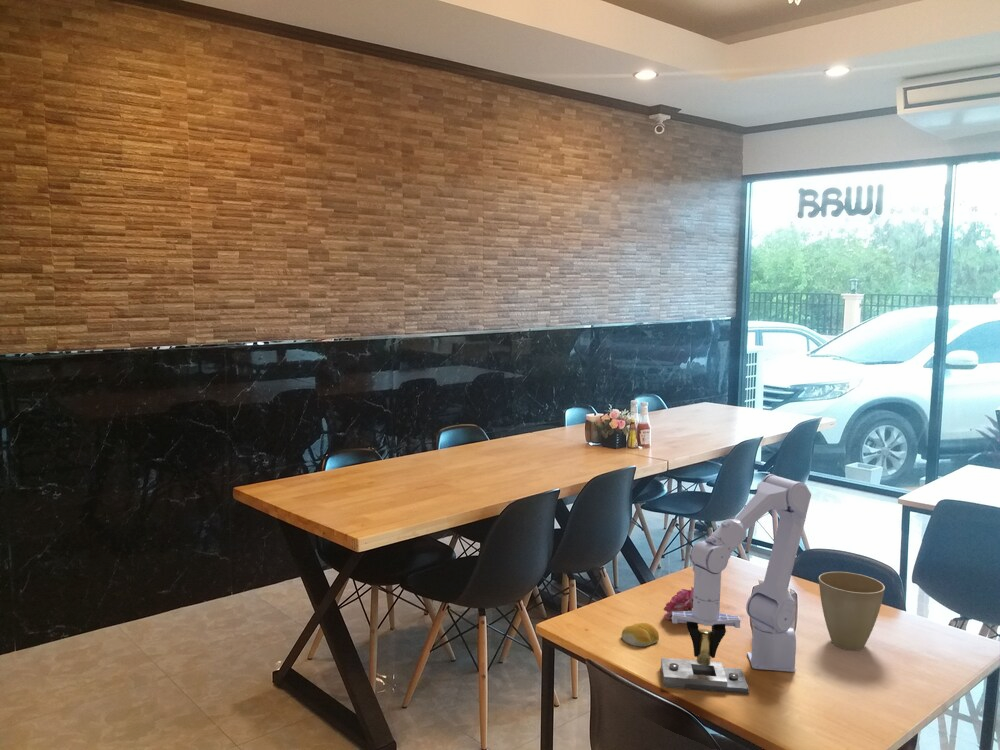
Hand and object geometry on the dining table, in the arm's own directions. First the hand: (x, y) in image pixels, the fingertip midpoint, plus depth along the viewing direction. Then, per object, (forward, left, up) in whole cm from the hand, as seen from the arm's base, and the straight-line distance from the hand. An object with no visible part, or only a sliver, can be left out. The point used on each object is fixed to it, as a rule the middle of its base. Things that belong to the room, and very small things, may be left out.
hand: (704, 655), depth 171 cm
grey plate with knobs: (0, 0, -6) cm, 6 cm away
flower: (+2, -33, -6) cm, 34 cm away
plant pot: (-38, -25, -6) cm, 46 cm away
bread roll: (+13, -19, -6) cm, 24 cm away
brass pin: (0, 0, -2) cm, 2 cm away
